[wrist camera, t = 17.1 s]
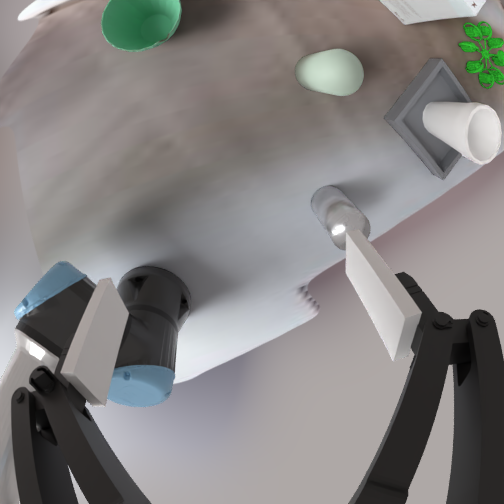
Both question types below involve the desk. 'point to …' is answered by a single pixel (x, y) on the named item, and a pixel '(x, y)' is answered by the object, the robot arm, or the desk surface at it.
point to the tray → (411, 114)
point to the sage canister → (330, 72)
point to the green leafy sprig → (484, 53)
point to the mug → (140, 23)
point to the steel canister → (338, 215)
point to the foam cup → (465, 128)
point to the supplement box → (432, 9)
